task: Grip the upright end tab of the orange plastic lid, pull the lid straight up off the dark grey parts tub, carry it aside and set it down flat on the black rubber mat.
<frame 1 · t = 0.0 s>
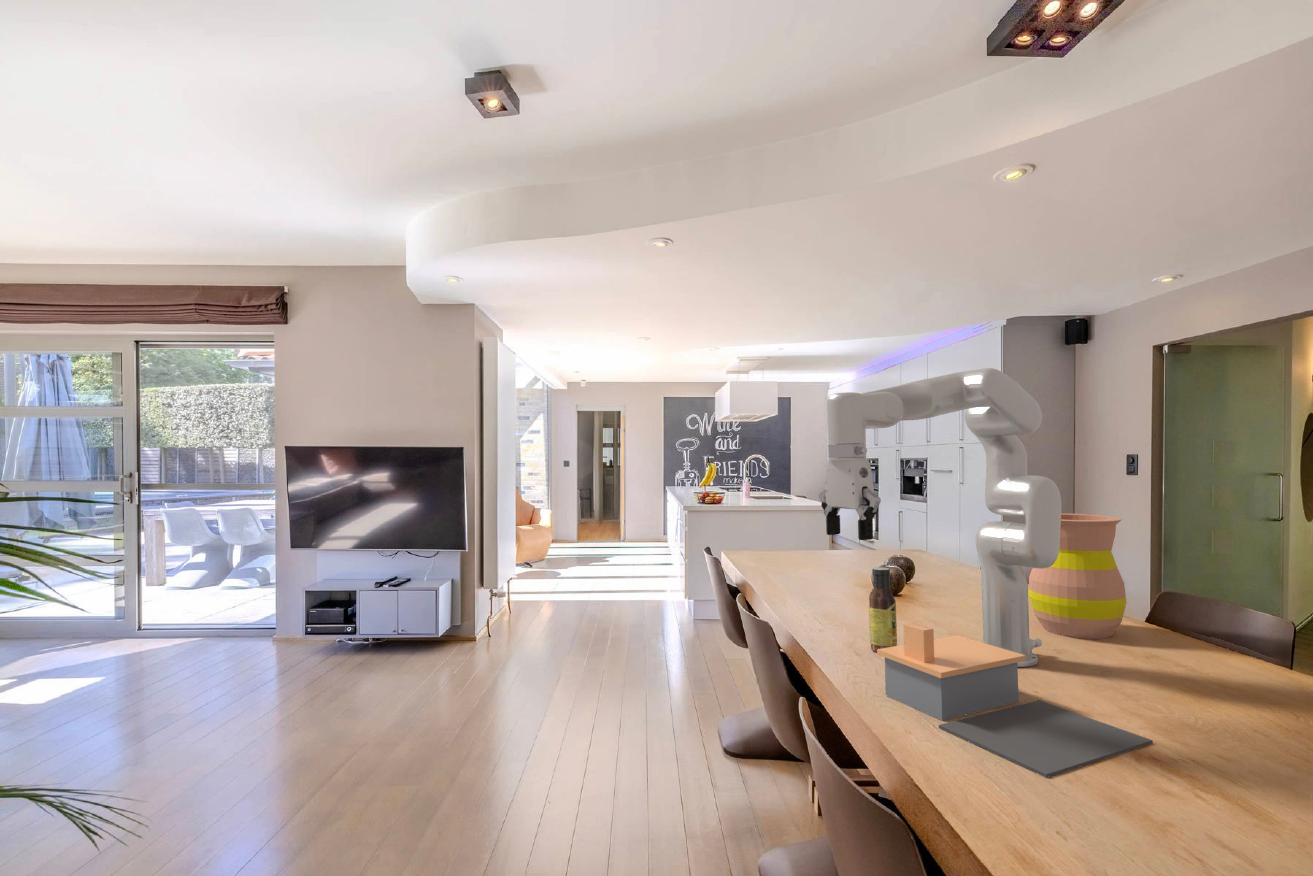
hand: (849, 536, 136), 31 cm above the table, tool pointing down, fingers open, 9 cm apart
lid: (949, 657, 131), point 8 cm above the table, touching tub
mat: (1042, 735, 113), on the table
sauce bottle: (883, 651, 162), on the table
vase: (1076, 631, 177), on the table
tub: (951, 698, 130), on the table
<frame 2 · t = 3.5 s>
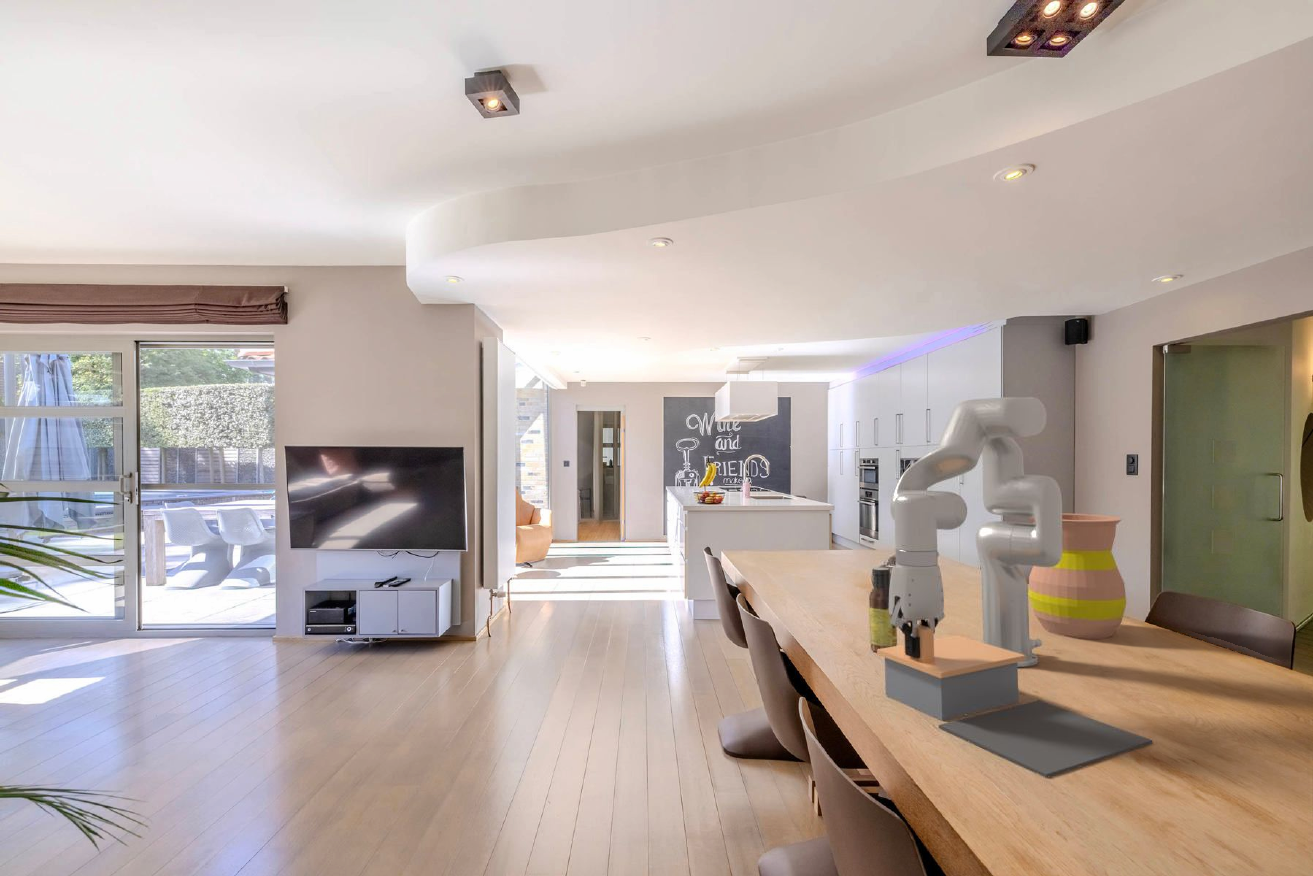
hand: (918, 654, 127), 10 cm above the table, tool pointing down, fingers closed on lid, 2 cm apart
lid: (949, 657, 131), point 8 cm above the table, touching gripper
everything else where it was.
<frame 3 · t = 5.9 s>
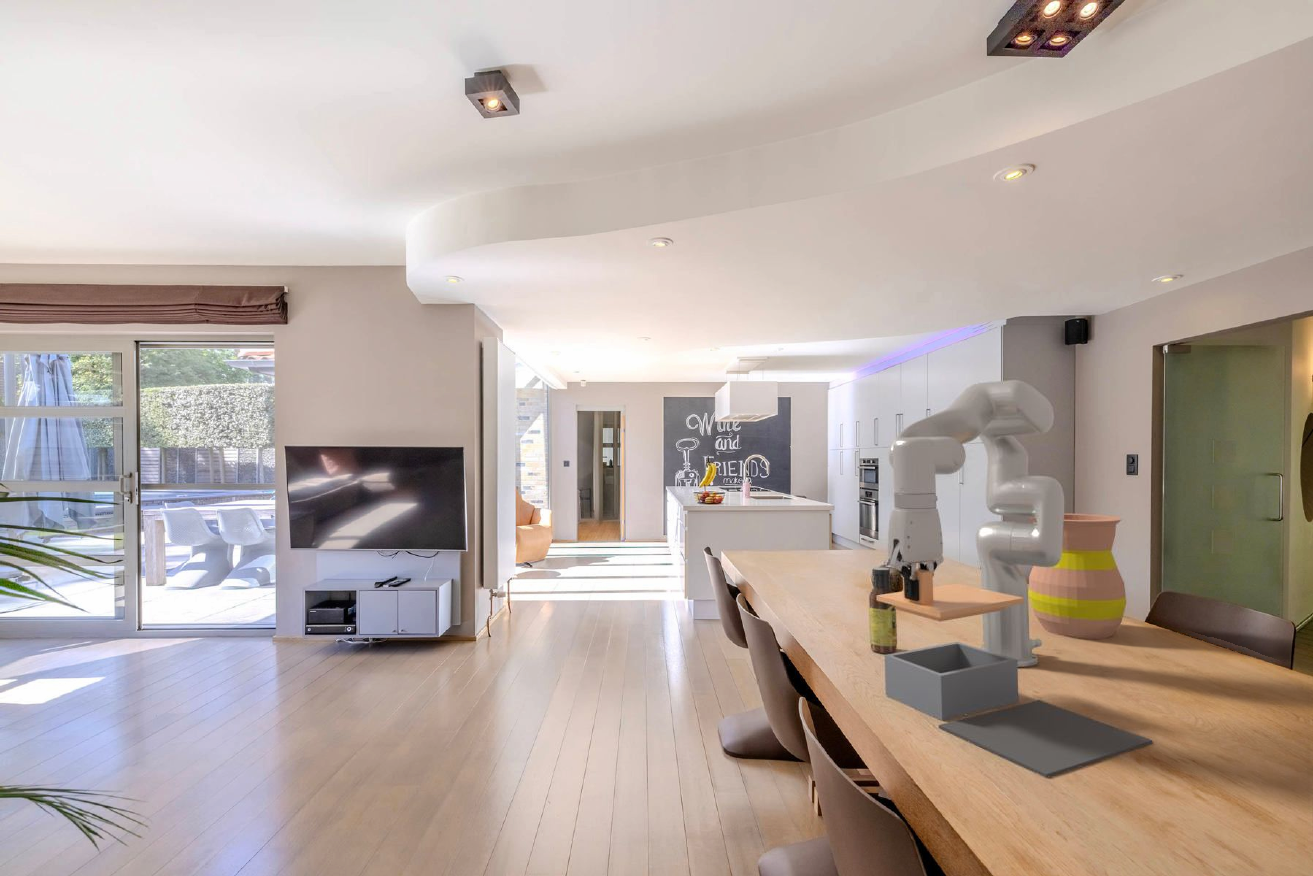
hand: (918, 597, 128), 20 cm above the table, tool pointing down, fingers closed on lid, 2 cm apart
lid: (949, 601, 131), point 19 cm above the table, touching gripper
everything else where it was.
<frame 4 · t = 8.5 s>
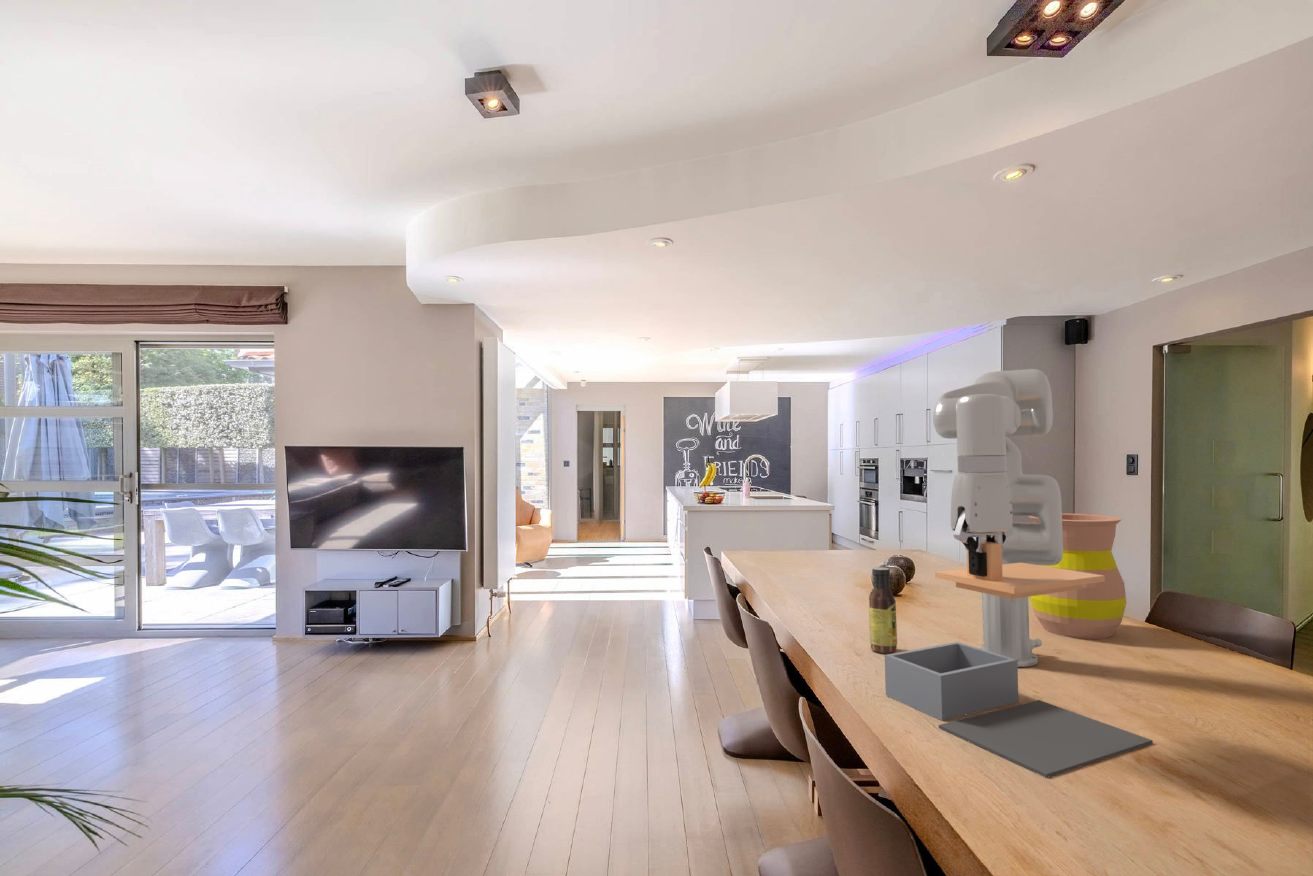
hand: (984, 573, 114), 27 cm above the table, tool pointing down, fingers closed on lid, 2 cm apart
lid: (1017, 579, 117), point 26 cm above the table, touching gripper
everything else where it was.
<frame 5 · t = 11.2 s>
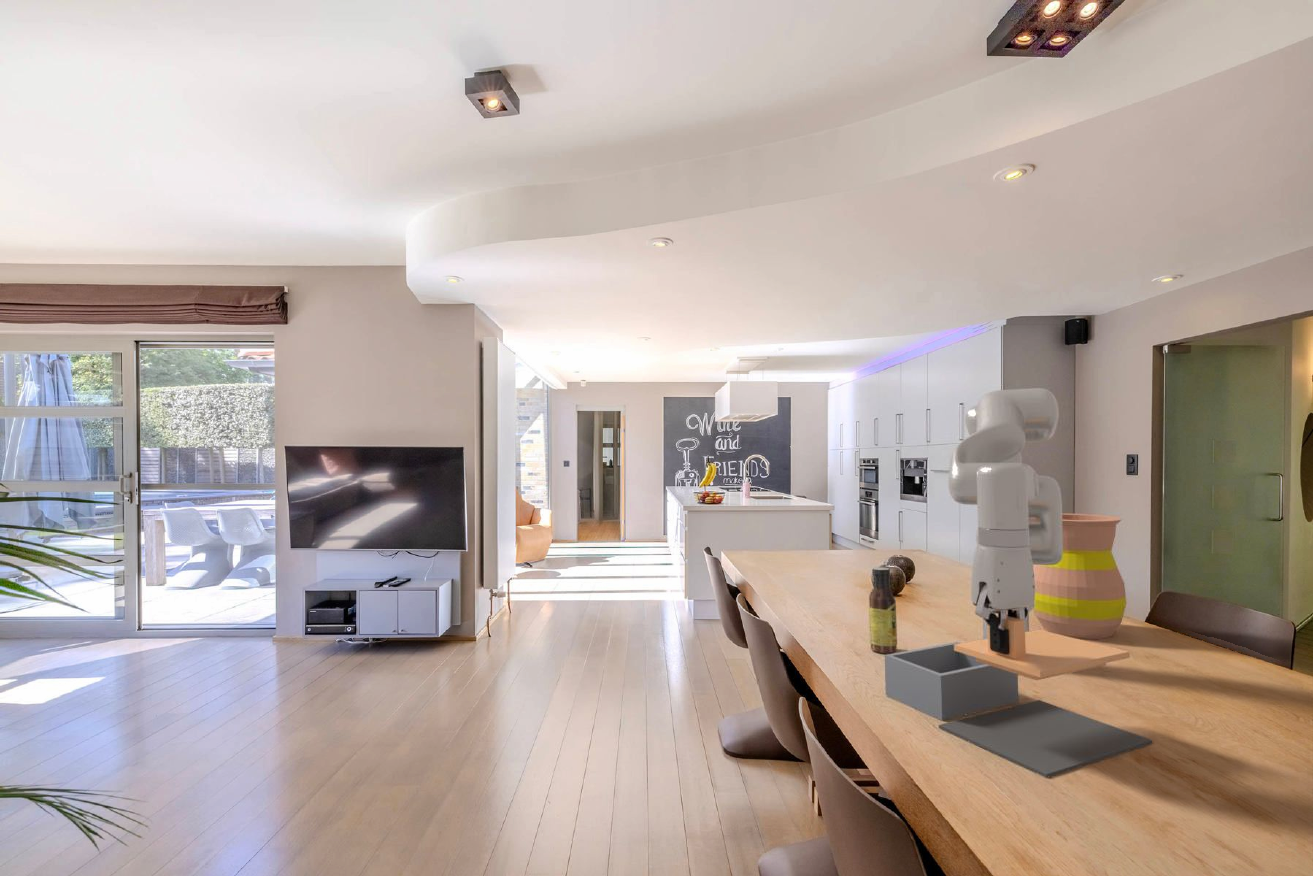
hand: (1006, 650, 110), 16 cm above the table, tool pointing down, fingers closed on lid, 2 cm apart
lid: (1039, 654, 113), point 14 cm above the table, touching gripper
everything else where it was.
when the fingers open (6 cm above the table, at t = 13.6 s): lid drops 2 cm, resting on mat.
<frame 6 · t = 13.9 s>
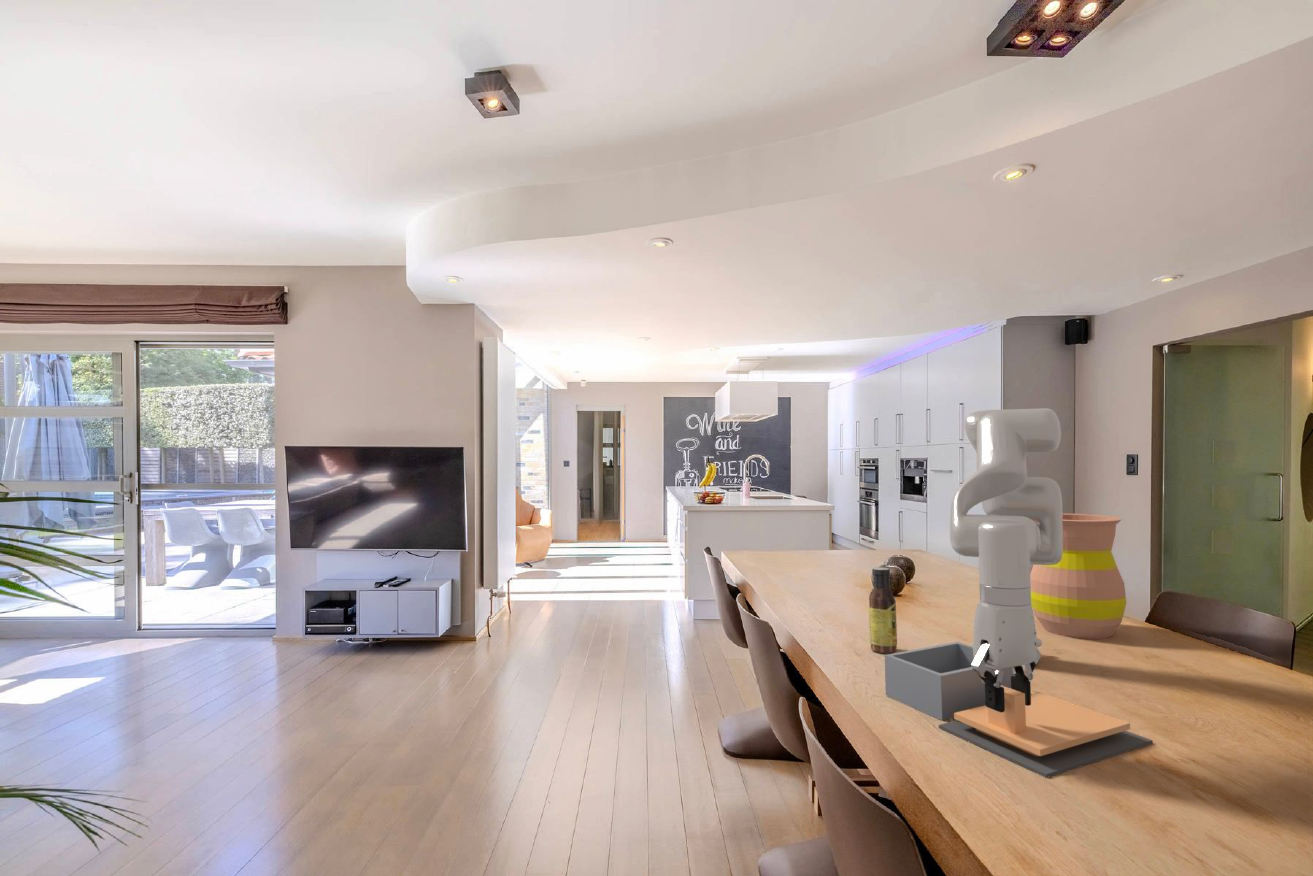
hand: (1008, 705, 110), 6 cm above the table, tool pointing down, fingers open, 5 cm apart
lid: (1039, 723, 113), point 2 cm above the table, touching mat
everything else where it was.
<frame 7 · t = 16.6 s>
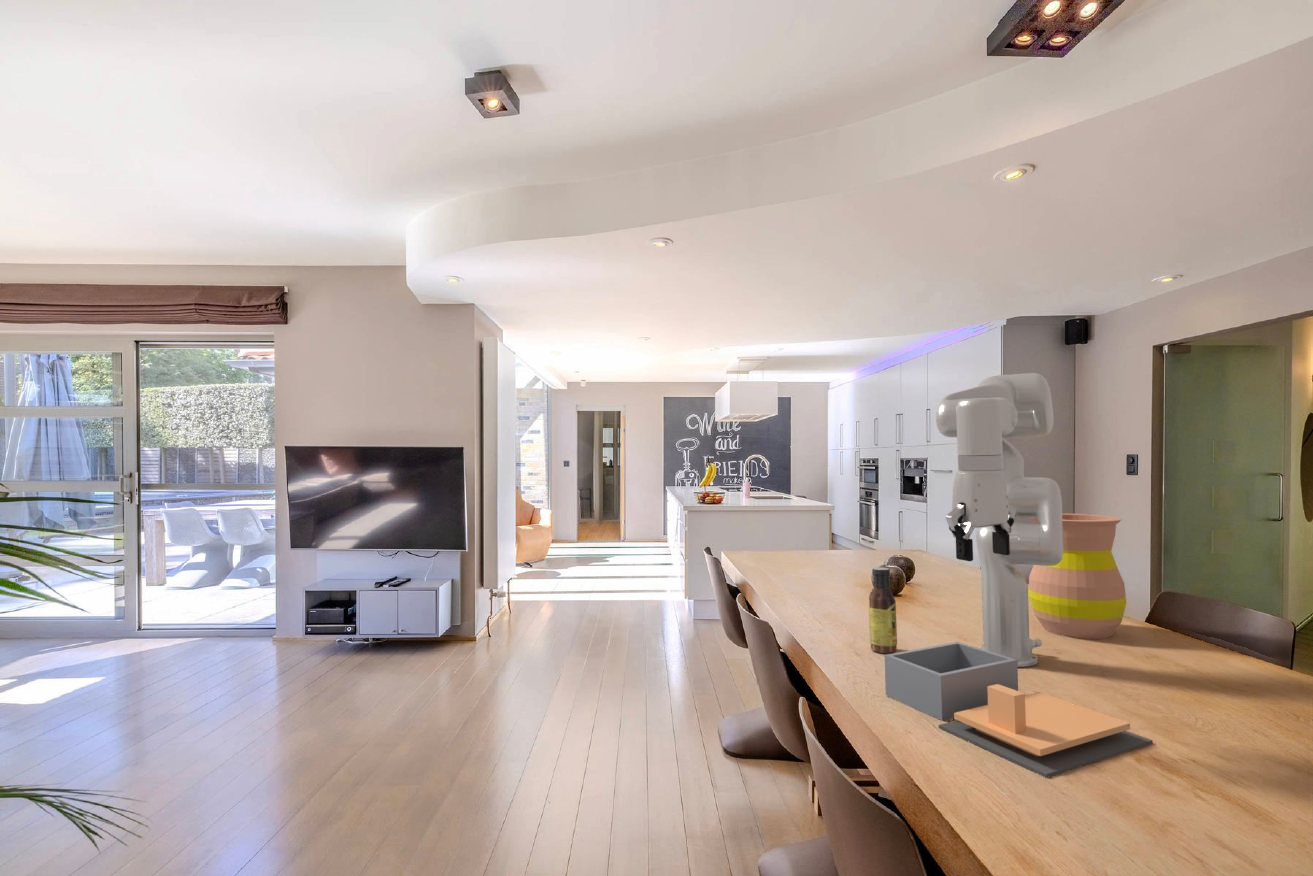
hand: (983, 557, 124), 29 cm above the table, tool pointing down, fingers open, 9 cm apart
nothing on the table moved.
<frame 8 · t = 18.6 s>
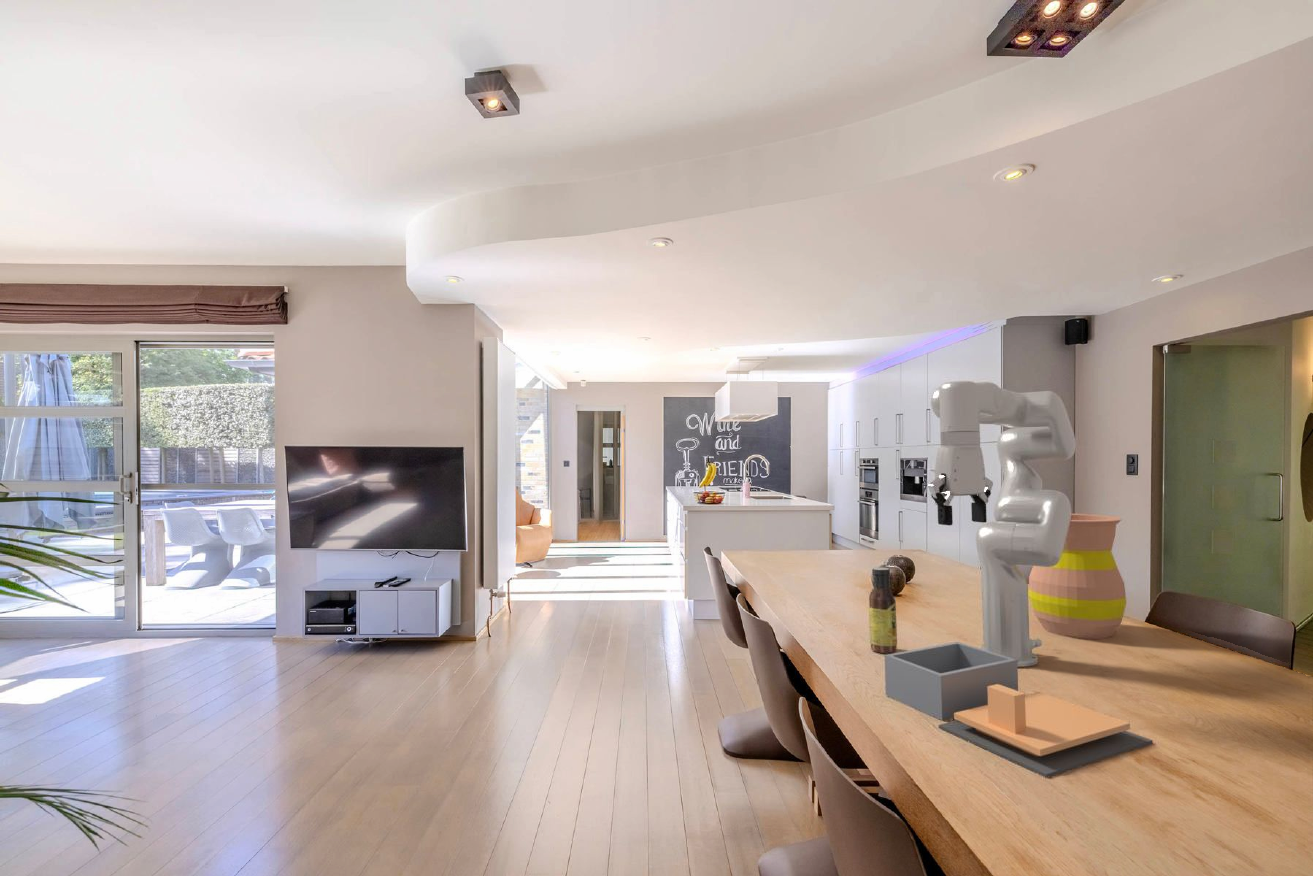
hand: (962, 523, 139), 33 cm above the table, tool pointing down, fingers open, 9 cm apart
nothing on the table moved.
at the end: lid inside the target area (0.4 cm from its centre), point 2.0 cm above the table; lid touching mat; the gripper is holding nothing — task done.
